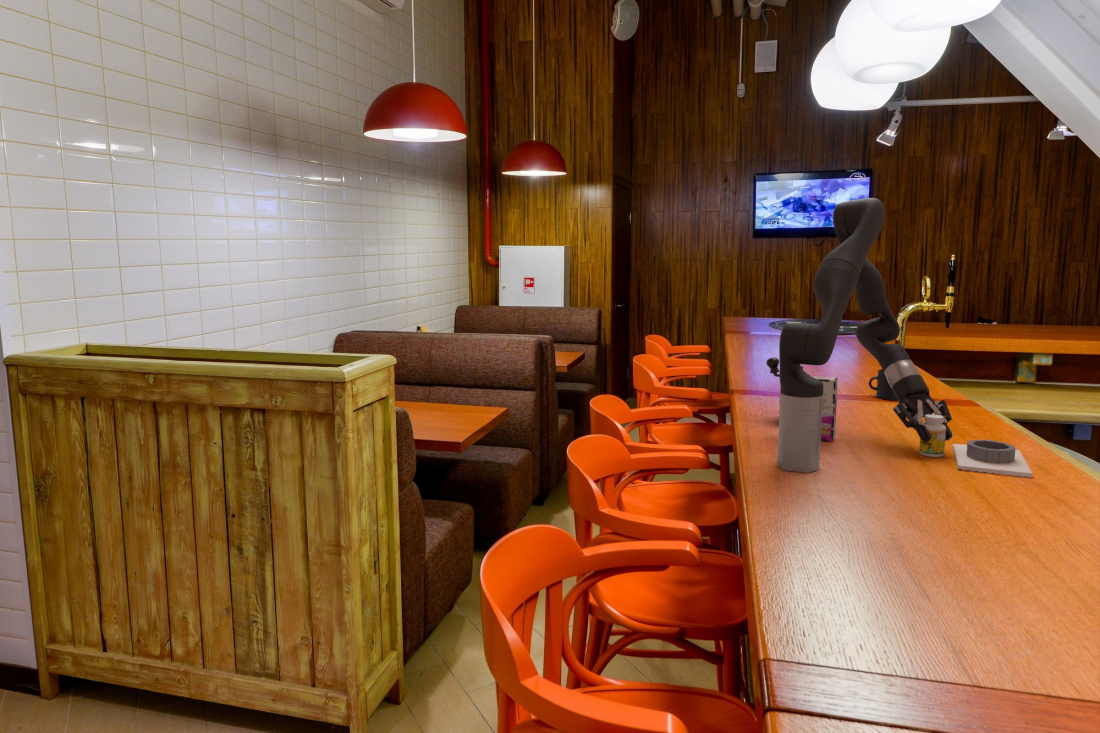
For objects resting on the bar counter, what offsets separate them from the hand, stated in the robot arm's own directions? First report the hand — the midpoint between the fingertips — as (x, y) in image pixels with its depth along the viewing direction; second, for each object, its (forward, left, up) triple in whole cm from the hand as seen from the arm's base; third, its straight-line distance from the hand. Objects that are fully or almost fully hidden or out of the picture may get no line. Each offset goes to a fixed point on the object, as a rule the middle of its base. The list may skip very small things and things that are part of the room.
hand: (938, 439), depth 171 cm
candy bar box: (+6, +29, -5) cm, 30 cm away
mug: (+69, +12, -5) cm, 71 cm away
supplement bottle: (+1, +1, -4) cm, 5 cm away
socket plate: (0, -11, -4) cm, 12 cm away
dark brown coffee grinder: (+23, +37, -5) cm, 44 cm away
